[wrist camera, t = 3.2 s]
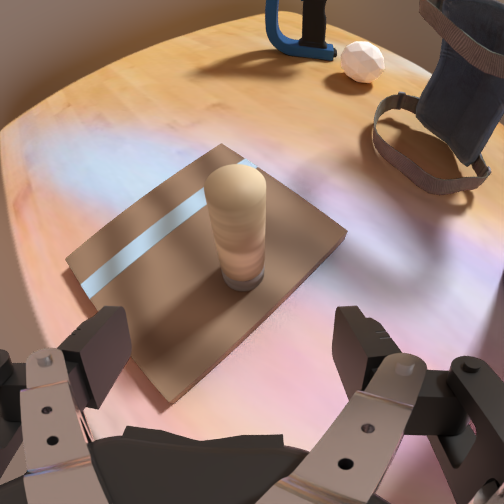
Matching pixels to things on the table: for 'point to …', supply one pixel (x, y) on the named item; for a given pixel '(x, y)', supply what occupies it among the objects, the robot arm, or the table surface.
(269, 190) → the board
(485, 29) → the knee pad
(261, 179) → the tan round-topped cylinder
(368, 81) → the ball
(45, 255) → the table surface
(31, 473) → the robot arm
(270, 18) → the handheld scanner
